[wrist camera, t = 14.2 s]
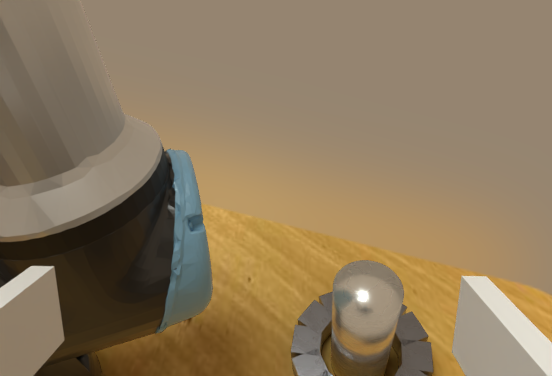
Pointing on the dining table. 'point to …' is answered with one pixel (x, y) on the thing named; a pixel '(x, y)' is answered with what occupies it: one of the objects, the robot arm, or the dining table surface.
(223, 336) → the dining table surface
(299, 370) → the ring
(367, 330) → the cylinder
